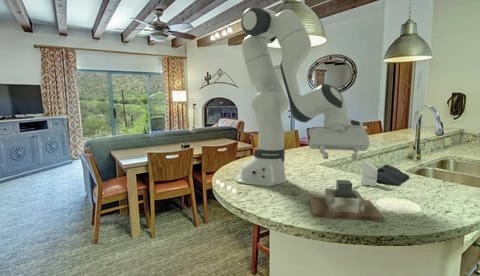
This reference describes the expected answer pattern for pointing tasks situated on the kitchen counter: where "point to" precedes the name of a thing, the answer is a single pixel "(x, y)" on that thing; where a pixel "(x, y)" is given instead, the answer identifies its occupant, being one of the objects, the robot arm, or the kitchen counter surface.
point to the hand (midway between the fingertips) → (340, 158)
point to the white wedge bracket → (368, 174)
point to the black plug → (343, 189)
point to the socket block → (344, 207)
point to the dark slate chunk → (391, 175)
